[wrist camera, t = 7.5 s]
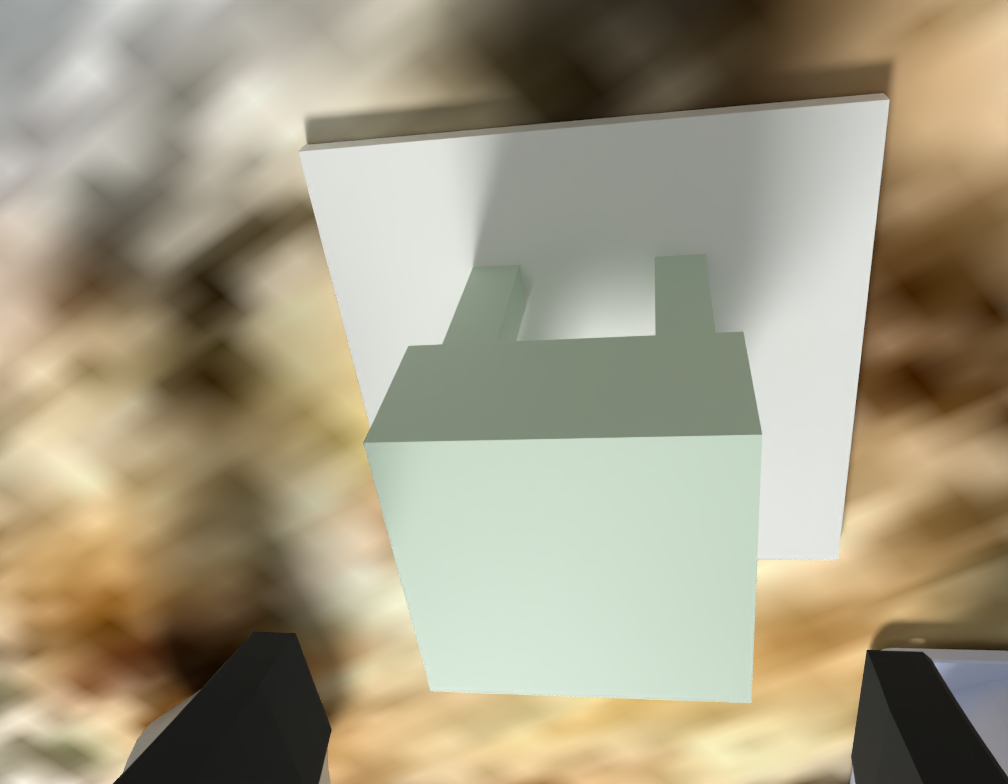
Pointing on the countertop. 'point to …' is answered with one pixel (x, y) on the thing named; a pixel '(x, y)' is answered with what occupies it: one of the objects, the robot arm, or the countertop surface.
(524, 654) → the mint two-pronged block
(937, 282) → the countertop surface
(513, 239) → the pad
